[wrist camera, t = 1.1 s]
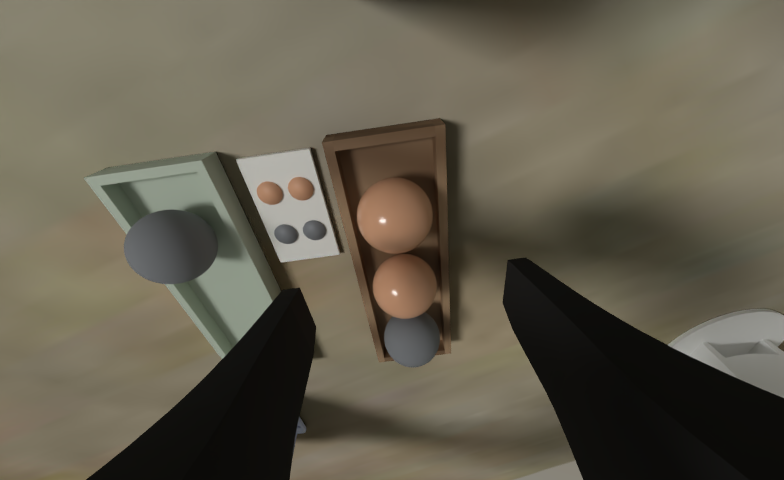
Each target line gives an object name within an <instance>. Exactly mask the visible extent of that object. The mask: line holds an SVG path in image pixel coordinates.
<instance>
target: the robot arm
mask: <svg viewBox="0 0 784 480" xmlns="http://www.w3.org/2000/svg"><path fill="white" fill-rule="evenodd" d="M503 305H504V308H505V311H506V313H507V316H508V319H509V321H510V324H511V326H512V329H513V331H514V333H515V335H516V337H517V339H518V340H519V342H520V344H521V346H522V348H523V350H524V352H525V354H526V356H527V357H528V359H529V361H530V363H531V365H532V367H533V369H534V370H535V372H536V374H537V376H538V378H539V380H540V382H541V383H542V385H543V387H544V389H545V391H546V393H547V395H548V397H549V399H550V401H551V403H552V405H553V407H554V409H555V412H556V414H557V417H558V419H559V421H560V424H561V426H562V428H563V431H564V433H565V435H566V438H567V440H568V443H569V445H570V448H571V450H572V453H573V455H574V457H575V460H576V462H577V465H578V467H579V470H580V472H581V475H582V477H583V480H784V398H783V397H780V396H778V395H775V394H773V393H770V392H768V391H766V390H763V389H761V388H759V387H756V386H754V385H752V384H749V383H747V382H745V381H742V380H740V379H738V378H736V377H733V376H731V375H729V374H727V373H725V372H722V371H720V370H718V369H716V368H714V367H712V366H709V365H707V364H705V363H703V362H701V361H699V360H697V359H694V358H692V357H690V356H688V355H686V354H684V353H682V352H680V351H678V350H676V349H674V348H672V347H670V346H668V345H666V344H664V343H662V342H661V341H659V340H657V339H655V338H653V337H651V336H649V335H647V334H645V333H643V332H642V331H640V330H638V329H636V328H634V327H633V326H631V325H629V324H627V323H625V322H624V321H622V320H620V319H619V318H617V317H615V316H614V315H612V314H610V313H609V312H607V311H605V310H604V309H602V308H600V307H599V306H597V305H596V304H594V303H592V302H591V301H589V300H588V299H586V298H585V297H583V296H582V295H580V294H579V293H577V292H575V291H574V290H572V289H571V288H569V287H568V286H567V285H565V284H564V283H562V282H561V281H559V280H558V279H556V278H555V277H553V276H552V275H551V274H549V273H548V272H546V271H545V270H543V269H542V268H540V267H539V266H538V265H536V264H535V263H533V262H532V261H530V260H529V259H527V258H519V259H512V260H508V262H507V271H506V279H505V287H504V295H503ZM315 333H316V326H315V323H314V321H313V318H312V316H311V314H310V311H309V309H308V306H307V304H306V302H305V299H304V297H303V294H302V292H301V290H300V288H294V289H287V290H282V291H281V292H280V294H279V295H278V296H277V297H276V298H275V299H274V301H273V302H272V303H271V304H270V305H269V306H268V308H267V309H266V310H265V311H264V312H263V314H262V315H261V316H260V317H259V318H258V320H257V321H256V322H255V323H254V324H253V325H252V327H251V328H250V329H249V330H248V331H247V332H246V334H245V335H244V336H243V337H242V338H241V339H240V341H239V342H238V343H237V344H236V345H235V346H234V347H233V348H232V349H231V350H230V351H229V352H228V354H227V355H226V356H225V357H224V358H223V359H222V360H221V361H220V362H219V363H218V364H217V365H216V366H215V368H214V369H213V370H212V371H211V372H210V373H209V374H208V375H207V376H206V377H205V378H204V379H203V380H202V381H201V382H200V383H199V384H198V385H197V386H196V387H195V388H194V389H193V390H191V391H190V392H189V393H188V394H187V395H186V396H185V397H184V398H183V399H182V400H181V401H180V402H179V403H178V404H177V405H175V406H174V407H173V408H172V409H171V410H170V411H169V412H168V413H167V414H165V415H164V416H163V417H162V418H161V419H160V420H158V421H157V422H156V423H155V424H154V425H153V426H151V427H150V428H149V429H148V430H147V431H146V432H144V433H143V434H142V435H141V436H140V437H139V438H137V439H136V440H135V441H134V442H133V443H132V444H130V445H129V446H128V447H127V448H126V449H124V450H123V451H122V452H121V453H119V454H118V455H117V456H116V457H114V458H113V459H112V460H111V461H109V462H108V463H107V464H106V465H104V466H103V467H102V468H101V469H99V470H98V471H97V472H95V473H94V474H93V475H91V476H90V477H89V478H88V479H86V480H289V479H290V471H291V464H292V457H293V452H294V447H295V442H296V437H297V434H301V433H305V432H306V426H305V425H304V423H303V422H302V420H301V418H300V417H299V416H300V411H301V407H302V403H303V398H304V394H305V390H306V385H307V381H308V377H309V372H310V368H311V363H312V358H313V353H314V344H315Z"/></svg>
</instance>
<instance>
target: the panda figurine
mask: <svg viewBox="0 0 784 480" xmlns="http://www.w3.org/2000/svg"><path fill="white" fill-rule="evenodd" d="M783 341H784V315H782V314H781V313H779V312H777V311H774V310H770V309H747V310H741V311H736V312H732V313H728V314H725V315H722V316H719V317H716V318H713V319H711V320H708V321H706V322H704V323H701V324H699V325H697V326H695V327H693V328H691V329H690V330H688V331H686V332H685V333H683V334H681V335H680V336H678V337H677V338H676V339H674V340H673V341H672V342H670V343H669V344H668V346H670V347H672V348H674V349H676V350H678V351H680V352H682V353H684V354H686V355H688V356H690V357H692V358H694V359H697V360H699V361H701V362H703V363H705V364H707V365H709V366H712V367H714V368H716V369H718V370H720V371H722V372H725V373H727V374H729V375H731V376H733V377H736V378H738V379H740V380H742V381H745V382H747V383H749V384H752V385H754V386H756V387H759V388H761V389H763V390H766V391H768V392H770V393H773V394H775V395H778V396H780V397H783V398H784V352H783V351H782V350H781V349H779V348H778V346H779V345H780V344H781V343H782V342H783Z"/></svg>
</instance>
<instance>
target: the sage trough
mask: <svg viewBox="0 0 784 480" xmlns="http://www.w3.org/2000/svg"><path fill="white" fill-rule="evenodd" d="M236 162H237V164H238V166H239V169H240V171H241V173H242V175H243V178H244V180H245V182H246V185H247V187H248V189H249V191H250V194H251V196H252V198H253V201H254V203H255V205H256V207H257V210H258V212H259V214H260V217H261V219H262V221H263V223H264V226H265V228H266V230H267V233H268V235H269V237H270V239H271V242H272V244H273V246H274V249H275V251H276V253H277V255H278V258H279V260H280V262H289V261H296V260H303V259H310V258H318V257H325V256H332V255H340V250H339V246H338V243H337V239H336V236H335V232H334V229H333V225H332V222H331V218H330V215H329V211H328V208H327V204H326V200H325V197H324V193H323V190H322V186H321V183H320V179H319V176H318V172H317V169H316V165H315V162H314V158H313V155H312V151H311V148H303V149H296V150H289V151H283V152H276V153H269V154H262V155H256V156H249V157H242V158H237V159H236ZM84 179H85V180H86V182H87V183H88V184H89V186H90V187H91V188H92V190H93V191H94V192H95V193H96V195H97V196H98V197H99V199H100V200H101V201H102V203H103V204H104V205H105V207H106V208H107V209H108V210H109V212H110V213H111V214H112V216H113V217H114V218H115V220H116V221H117V222H118V224H119V225H120V226H121V228H122V229H123V230H124V231H125V233H126V234H127V233H128V231H129V230H130V228H131V227H132V226H133V225H134V224H135V223H136V222H137V221H138V220H139V219H141V218H143V217H144V216H146V215H148V214H151V213H153V212H157V211H161V210H182V211H187V212H190V213H193V214H195V215H197V216H199V217H201V218H202V219H203V220H205V221H206V222H207V223H208V224H209V225H210V226H211V227H212V229H213V230H214V232H215V234H216V237H217V241H218V252H217V256H216V258H215V261H214V262H213V264H212V265H211V267H210V268H209V269H208V270H207V271H206V272H205V273H203V274H202V275H201V276H199V277H197V278H195V279H193V280H191V281H188V282H184V283H179V284H165V285H166V286H167V288H168V289H169V290H170V292H171V293H172V294H173V296H174V297H175V298H176V300H177V301H178V302H179V303H180V305H181V306H182V307H183V309H184V310H185V311H186V313H187V314H188V315H189V317H190V318H191V319H192V321H193V322H194V323H195V324H196V326H197V327H198V328H199V330H200V331H201V332H202V334H203V335H204V336H205V338H206V339H207V340H208V341H209V343H210V344H211V345H212V347H213V348H214V349H215V351H216V352H217V353H218V355H219V356H220V357H221V358H222V359H223V358H224V357H225V356H226V355H227V354H228V352H229V351H230V350H231V349H232V348H233V347H234V346H235V345H236V344H237V343H238V342H239V341H240V339H241V338H242V337H243V336H244V335H245V334H246V332H247V331H248V330H249V329H250V328H251V327H252V325H253V324H254V323H255V322H256V321H257V320H258V318H259V317H260V316H261V315H262V314H263V312H264V311H265V310H266V309H267V308H268V306H269V305H270V304H271V303H272V302H273V301H274V299H275V298H276V297H277V296H278V295H279V294H280V292H281V290H280V288H279V285H278V283H277V281H276V279H275V277H274V275H273V273H272V271H271V268H270V266H269V264H268V262H267V260H266V258H265V256H264V253H263V251H262V249H261V247H260V245H259V243H258V241H257V239H256V236H255V234H254V232H253V230H252V228H251V226H250V224H249V222H248V219H247V217H246V215H245V213H244V211H243V209H242V207H241V205H240V202H239V200H238V198H237V196H236V194H235V192H234V190H233V188H232V185H231V183H230V181H229V179H228V177H227V175H226V173H225V170H224V168H223V166H222V164H221V162H220V160H219V158H218V156H217V153H216V152H209V153H203V154H196V155H189V156H183V157H176V158H169V159H162V160H156V161H149V162H142V163H135V164H129V165H122V166H115V167H108V168H105V169H103V170H101V171H98V172H96V173H94V174H91V175H89V176H87V177H84Z"/></svg>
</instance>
